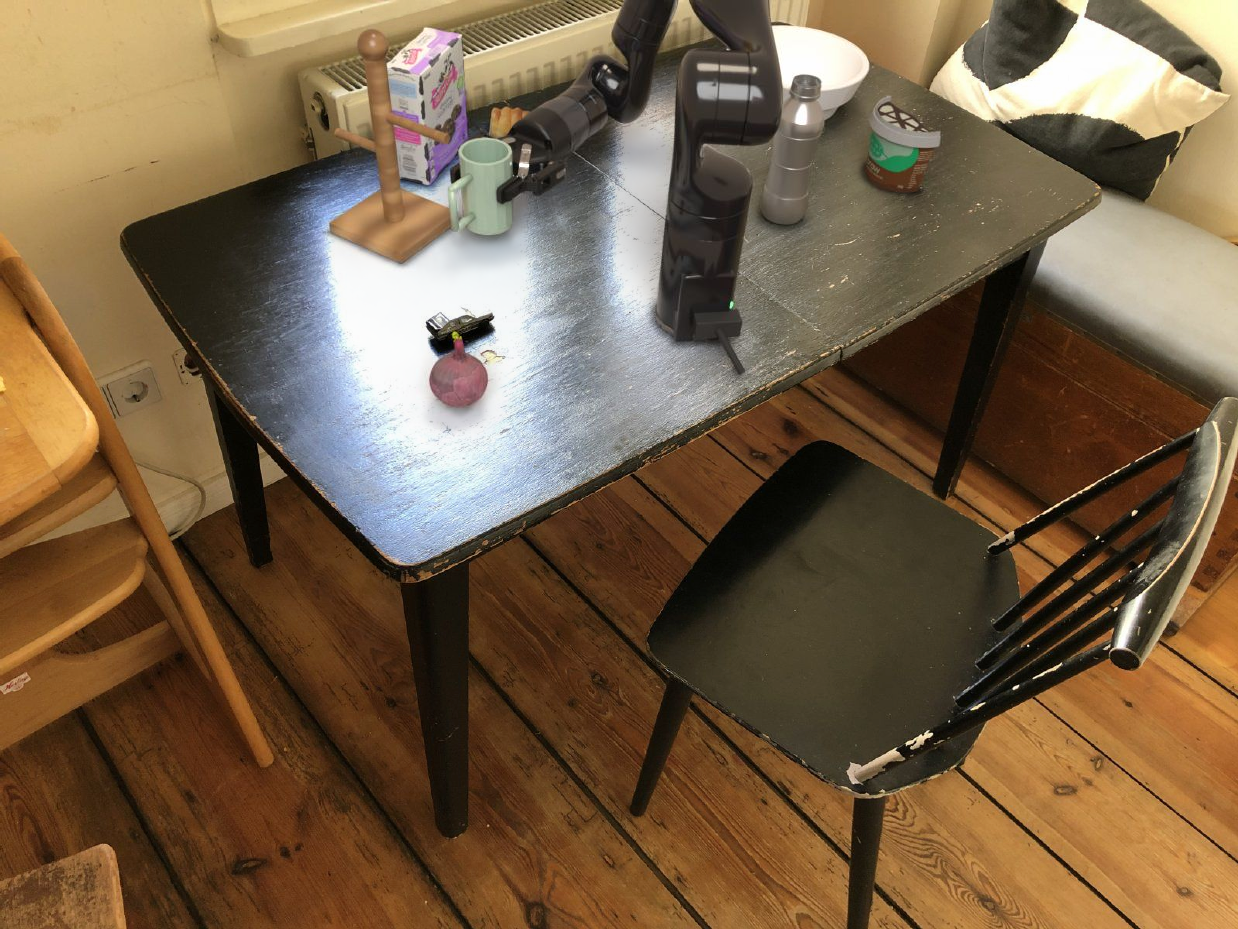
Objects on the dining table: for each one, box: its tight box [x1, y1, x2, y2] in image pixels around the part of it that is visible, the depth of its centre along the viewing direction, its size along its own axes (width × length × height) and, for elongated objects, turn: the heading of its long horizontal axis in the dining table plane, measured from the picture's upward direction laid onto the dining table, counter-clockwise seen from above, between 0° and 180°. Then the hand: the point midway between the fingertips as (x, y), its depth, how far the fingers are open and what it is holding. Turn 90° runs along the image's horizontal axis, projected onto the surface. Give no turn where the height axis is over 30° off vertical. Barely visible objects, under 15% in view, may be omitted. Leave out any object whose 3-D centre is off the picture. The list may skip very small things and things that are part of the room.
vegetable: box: [428, 331, 489, 408], centre depth 108 cm, size 6×6×10 cm
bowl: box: [726, 24, 870, 121], centre depth 161 cm, size 22×22×8 cm
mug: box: [447, 137, 515, 236], centre depth 126 cm, size 11×6×10 cm, turn 149°
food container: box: [864, 95, 942, 193], centre depth 146 cm, size 12×6×10 cm, turn 27°
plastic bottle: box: [759, 74, 825, 226], centre depth 134 cm, size 6×7×20 cm
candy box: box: [386, 26, 469, 186], centre depth 140 cm, size 14×6×16 cm, turn 162°
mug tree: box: [328, 28, 460, 264], centre depth 124 cm, size 18×12×26 cm, turn 59°
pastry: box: [488, 106, 531, 139], centre depth 151 cm, size 9×7×4 cm
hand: (475, 187), depth 125 cm, fingers closed on mug, 6 cm apart
